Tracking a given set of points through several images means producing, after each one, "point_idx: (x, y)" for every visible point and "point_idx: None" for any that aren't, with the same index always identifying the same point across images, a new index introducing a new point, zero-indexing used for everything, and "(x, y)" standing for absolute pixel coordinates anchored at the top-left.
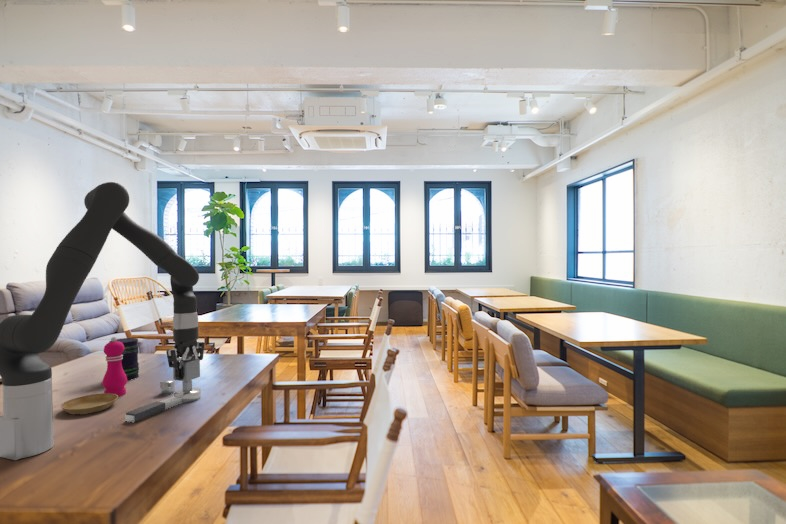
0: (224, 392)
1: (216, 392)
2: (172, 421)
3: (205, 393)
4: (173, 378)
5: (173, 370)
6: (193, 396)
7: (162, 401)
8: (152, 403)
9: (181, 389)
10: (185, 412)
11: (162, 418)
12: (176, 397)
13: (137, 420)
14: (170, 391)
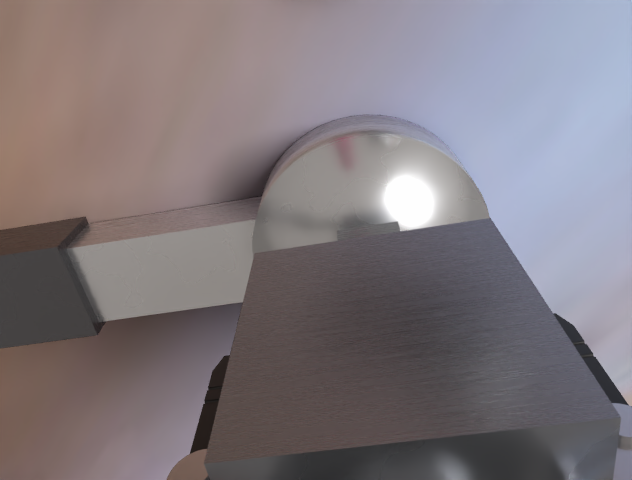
0: (604, 333)
1: (588, 282)
2: (70, 466)
3: (538, 226)
4: (252, 264)
5: (235, 340)
6: None
7: (112, 261)
8: (16, 270)
9: (389, 144)
10: (185, 421)
11: (48, 395)
12: (238, 270)
13: None
14: None
